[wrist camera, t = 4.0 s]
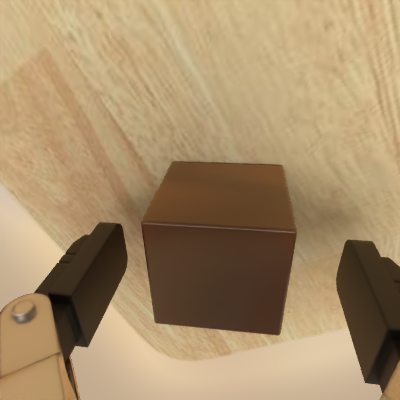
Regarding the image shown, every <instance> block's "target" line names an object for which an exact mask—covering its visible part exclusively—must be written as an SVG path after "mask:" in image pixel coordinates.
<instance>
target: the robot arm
mask: <svg viewBox="0 0 400 400" xmlns="http://www.w3.org/2000/svg"><path fill="white" fill-rule="evenodd" d="M127 261H128V257H127V250H126V244H125V239H124V233H123V228H122V225H121V224H117V223H103V222H100V223H99V224H98V225H97V226H96V228H95V229H94V230H93V232H92V233H91V234H90V235H84V236H83V237H81V238H80V239H78V240H77V241H75V242H74V243H73V244H72V245H71V246H70V248H69V249H68V250H67V252H66V254H65V255H63V257H62V258H61V260H60V261H59V263H57V264H56V266H55V267H54V268H53V269H52V271H51V272H50V273H49V275H48V276H47V277H46V278H45V280H44V281H43V282H42V283H41V285H40V286H39V287H38V289H37V290H36V291H35V292H34V293H32V294H27V295H23V296H21V297H18V298H17V299H15V300H13V301H11V302H10V303H9V304H7V305H6V306H5V307H4V308H3V309H2V311H1V312H0V400H80V396H79V392H78V387H77V382H76V378H75V373H74V368H73V364H72V359H71V357H70V354H71V353H72V351H73V349H74V347H75V346H81V347H88V346H89V344H90V342H91V340H92V338H93V336H94V334H95V332H96V330H97V328H98V326H99V324H100V322H101V320H102V318H103V316H104V314H105V312H106V309H107V307H108V305H109V303H110V301H111V299H112V297H113V295H114V293H115V291H116V289H117V287H118V285H119V283H120V281H121V279H122V277H123V275H124V273H125V271H126V268H127ZM336 285H337V292H338V295H339V298H340V302H341V305H342V308H343V311H344V315H345V318H346V321H347V325H348V328H349V331H350V334H351V338H352V341H353V344H354V348H355V351H356V354H357V358H358V361H359V364H360V367H361V370H362V374H363V377H364V381H365V383H370V384H378V385H380V387H381V390H382V393H383V394H382V396H381V398H380V400H400V267H399V266H398V265H397V264H396V263H395V262H393V261H392V260H391V259H390V258H387V257H381V256H380V254H379V252H378V250H377V249H376V247H375V245H374V243H373V242H372V241H360V240H347V241H346V243H345V245H344V249H343V253H342V257H341V260H340V264H339V268H338V272H337V278H336Z"/></svg>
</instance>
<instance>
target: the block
mask: <svg viewBox="0 0 400 400" xmlns="http://www.w3.org/2000/svg"><path fill="white" fill-rule="evenodd" d="M141 226H142V233H143V240H144V247H145V255H146V262H147V269H148V276H149V283H150V291H151V298H152V305H153V312H154V319H155V323H159V324H169V325H179V326H189V327H199V328H209V329H219V330H229V331H239V332H249V333H259V334H269V335H280V333H281V327H282V321H283V315H284V309H285V303H286V297H287V291H288V285H289V278H290V272H291V266H292V260H293V254H294V248H295V242H296V236H297V229H296V225H295V220H294V216H293V211H292V206H291V202H290V197H289V193H288V188H287V184H286V179H285V175H284V170H283V166H281V165H252V164H223V163H193V162H172V163H171V165H170V167H169V169H168V171H167V173H166V175H165V177H164V179H163V181H162V183H161V185H160V187H159V188H158V190H157V192H156V194H155V196H154V198H153V200H152V202H151V204H150V206H149V208H148V210H147V212H146V214H145V215H144V217H143V219H142V221H141Z"/></svg>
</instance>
